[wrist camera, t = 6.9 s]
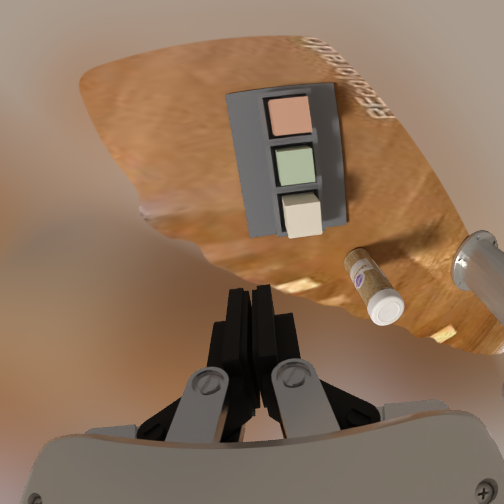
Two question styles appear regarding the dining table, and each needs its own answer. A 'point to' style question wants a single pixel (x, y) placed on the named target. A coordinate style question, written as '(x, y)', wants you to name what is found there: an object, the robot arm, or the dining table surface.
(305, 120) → the terracotta button
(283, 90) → the button panel
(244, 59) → the dining table surface
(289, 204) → the cream button
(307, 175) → the green button
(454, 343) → the dining table surface
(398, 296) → the sprinkles bottle
